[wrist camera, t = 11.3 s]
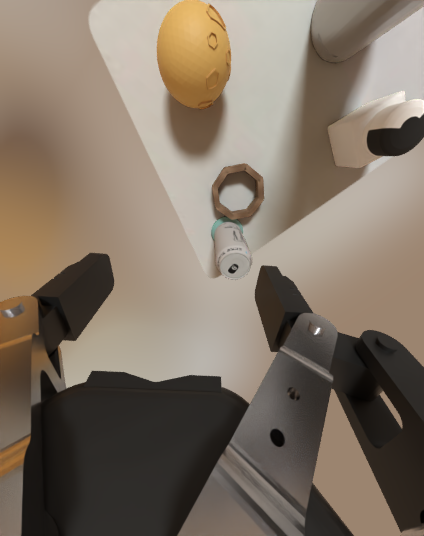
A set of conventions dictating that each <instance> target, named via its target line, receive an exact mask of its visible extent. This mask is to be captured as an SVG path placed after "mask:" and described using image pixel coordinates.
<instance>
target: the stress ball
mask: <svg viewBox="0 0 424 536" xmlns="http://www.w3.org/2000/svg"><path fill="white" fill-rule="evenodd" d="M157 61H158V66H159V70H160V74H161V77H162V79H163V82H164V84H165V86H166V88H167V89H168V91H169V92H170V93H171V95H172V96H173V97H174V98H175V99H176V100H177V101H179V102H180V103H181V104H183V105H185V106H187V107H191V108H199V109H200V110H201V109H206V108H208V107H210V106H211V105H213V102H214V101H215V100H216V99H217V98H218V97H219V95H220V94H221V92H222V91H223V89H224V87H225V85H226V82H227V81H228V80H229V76H230V72H231V49H230V43H229V38H228V34H227V31H226V26H225V24H224V21H223V19H222V18H221V16H220V14H219V13H218V12H217V11H216V9H215V8H214V7H213V6H211V5H210V4H208V5H207V4H205V3H204V2H201V1H198V0H184V1H182V2H179V3H178V4H176V5H175V6H174V7H172V8H171V9H170V11H169V12H168V13H167V15H166V16H165V18H164V20H163V22H162V24H161V27H160V30H159V35H158V40H157Z"/></svg>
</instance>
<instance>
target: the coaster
mask: <svg viewBox="0 0 424 536" xmlns="http://www.w3.org/2000/svg"><path fill="white" fill-rule="evenodd" d="M225 222H232V223H235V224H237V225H238V226H239V228H240V229H241V232H242V234H243V228H242V225H241V223H240V222H239V221H238V220H237V219H233V220H232V219H230V218H228V217H222V218H220V219H218V220H217V221H216V222H215V223H214V225H213V227H212V238H213V240H214V241H215V239H214V234H215V230H216V228H217V227H218V226H219V225H220V224H222V223H225Z"/></svg>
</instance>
